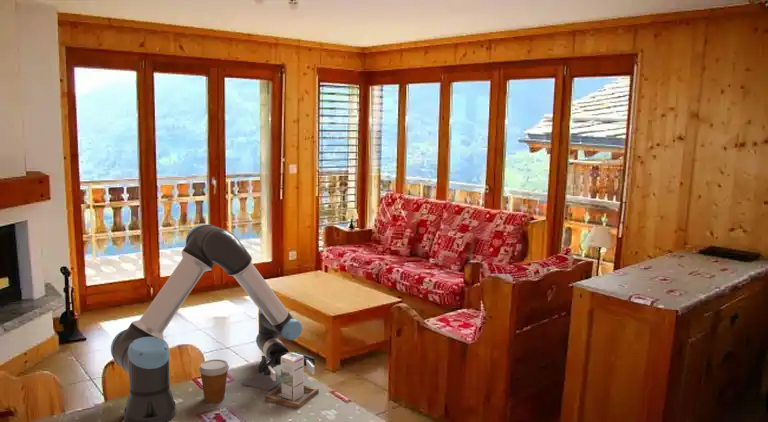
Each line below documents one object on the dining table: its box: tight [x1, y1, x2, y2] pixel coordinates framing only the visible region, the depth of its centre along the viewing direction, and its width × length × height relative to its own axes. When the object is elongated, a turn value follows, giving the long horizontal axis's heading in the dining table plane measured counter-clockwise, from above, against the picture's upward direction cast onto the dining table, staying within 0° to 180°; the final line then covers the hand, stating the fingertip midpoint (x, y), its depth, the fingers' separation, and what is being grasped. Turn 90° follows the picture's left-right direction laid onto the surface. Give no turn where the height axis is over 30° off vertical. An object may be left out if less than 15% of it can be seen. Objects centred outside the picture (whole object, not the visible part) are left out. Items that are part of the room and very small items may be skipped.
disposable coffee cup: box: [198, 358, 230, 404], centre depth 196 cm, size 10×10×12 cm
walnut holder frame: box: [264, 385, 320, 409], centre depth 200 cm, size 13×13×2 cm
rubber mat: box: [240, 372, 281, 392], centre depth 211 cm, size 12×12×1 cm
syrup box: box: [280, 351, 305, 402], centre depth 199 cm, size 6×6×14 cm
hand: (294, 373), depth 198 cm, fingers open, 13 cm apart
